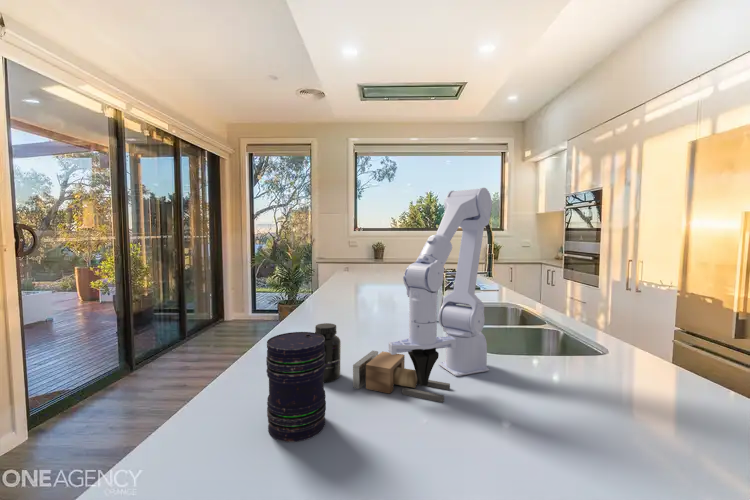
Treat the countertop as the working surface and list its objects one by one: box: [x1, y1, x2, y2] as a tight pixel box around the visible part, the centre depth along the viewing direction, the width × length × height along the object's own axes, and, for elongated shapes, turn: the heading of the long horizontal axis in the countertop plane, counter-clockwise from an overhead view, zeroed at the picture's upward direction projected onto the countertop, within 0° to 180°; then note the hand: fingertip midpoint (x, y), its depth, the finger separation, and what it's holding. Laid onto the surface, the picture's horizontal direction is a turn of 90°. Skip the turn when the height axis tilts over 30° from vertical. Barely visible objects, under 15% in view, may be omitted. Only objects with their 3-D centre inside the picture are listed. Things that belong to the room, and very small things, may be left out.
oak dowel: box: [393, 367, 418, 389], centre depth 74 cm, size 7×4×4 cm, turn 67°
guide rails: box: [401, 379, 451, 403], centre depth 71 cm, size 8×7×1 cm
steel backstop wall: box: [352, 350, 379, 390], centre depth 77 cm, size 2×10×5 cm, turn 156°
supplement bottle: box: [314, 322, 342, 383], centre depth 78 cm, size 7×7×12 cm
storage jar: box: [266, 331, 327, 443], centre depth 58 cm, size 10×10×15 cm
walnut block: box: [365, 351, 406, 394], centre depth 75 cm, size 6×9×5 cm, turn 156°
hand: (422, 383), depth 72 cm, fingers closed
